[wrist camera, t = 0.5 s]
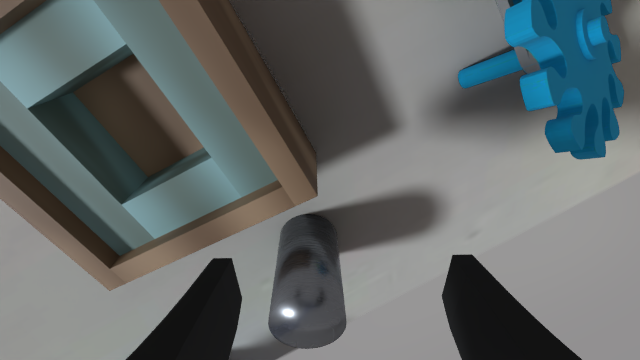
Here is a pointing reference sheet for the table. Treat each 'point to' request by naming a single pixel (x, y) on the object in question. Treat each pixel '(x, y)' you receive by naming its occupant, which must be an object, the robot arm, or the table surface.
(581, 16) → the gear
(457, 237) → the table surface
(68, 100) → the bore box
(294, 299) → the peg
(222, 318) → the robot arm
